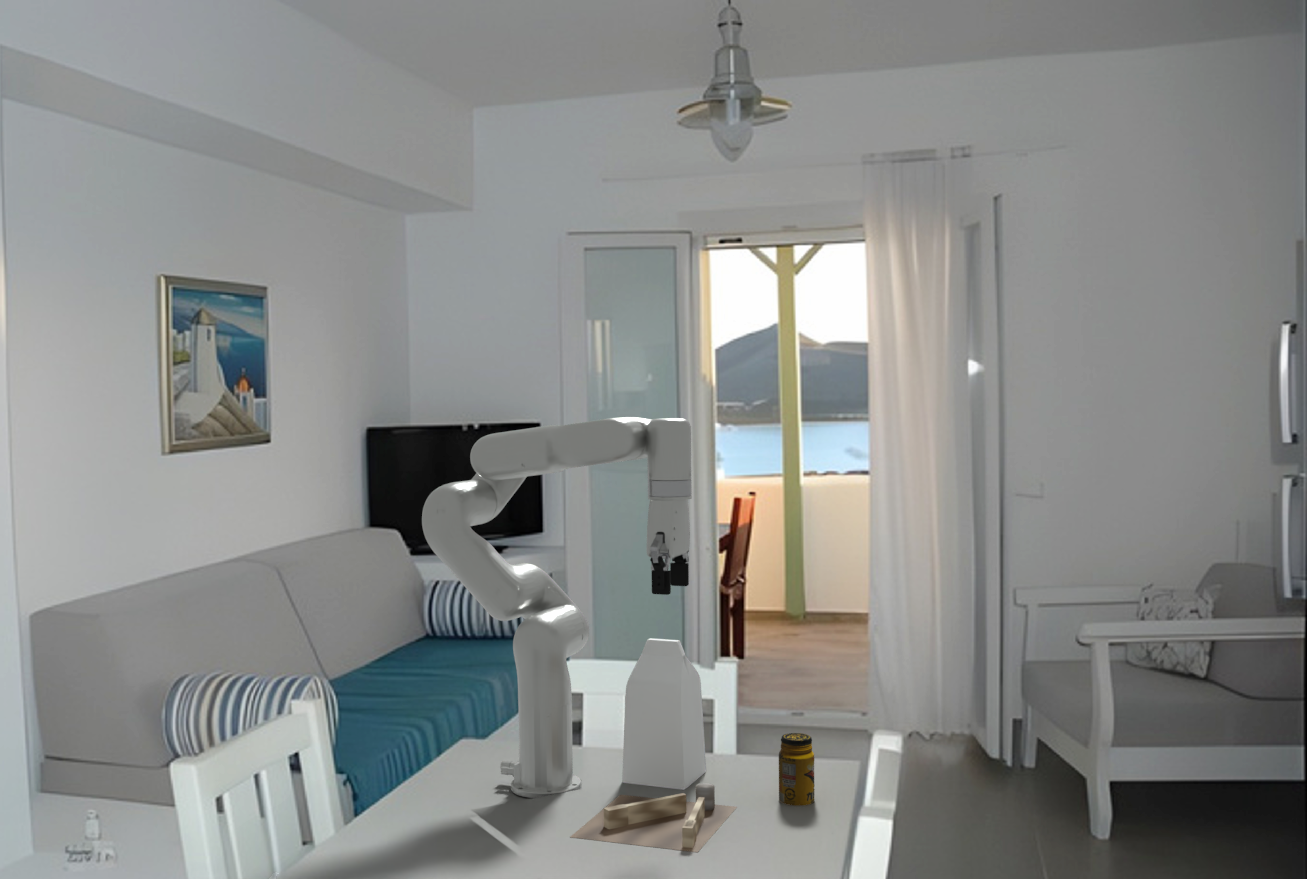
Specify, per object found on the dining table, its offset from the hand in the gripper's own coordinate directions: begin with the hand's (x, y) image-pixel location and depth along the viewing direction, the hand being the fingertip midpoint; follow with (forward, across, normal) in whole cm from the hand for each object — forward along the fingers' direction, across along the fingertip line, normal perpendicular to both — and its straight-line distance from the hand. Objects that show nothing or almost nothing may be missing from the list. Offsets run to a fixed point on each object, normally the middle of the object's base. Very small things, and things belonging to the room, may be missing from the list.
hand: (670, 589), depth 213 cm
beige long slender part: (+36, +12, +8) cm, 39 cm away
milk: (+37, -10, -5) cm, 39 cm away
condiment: (+37, -4, +20) cm, 42 cm away
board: (+37, +13, +2) cm, 39 cm away
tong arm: (+36, +13, 0) cm, 38 cm away
